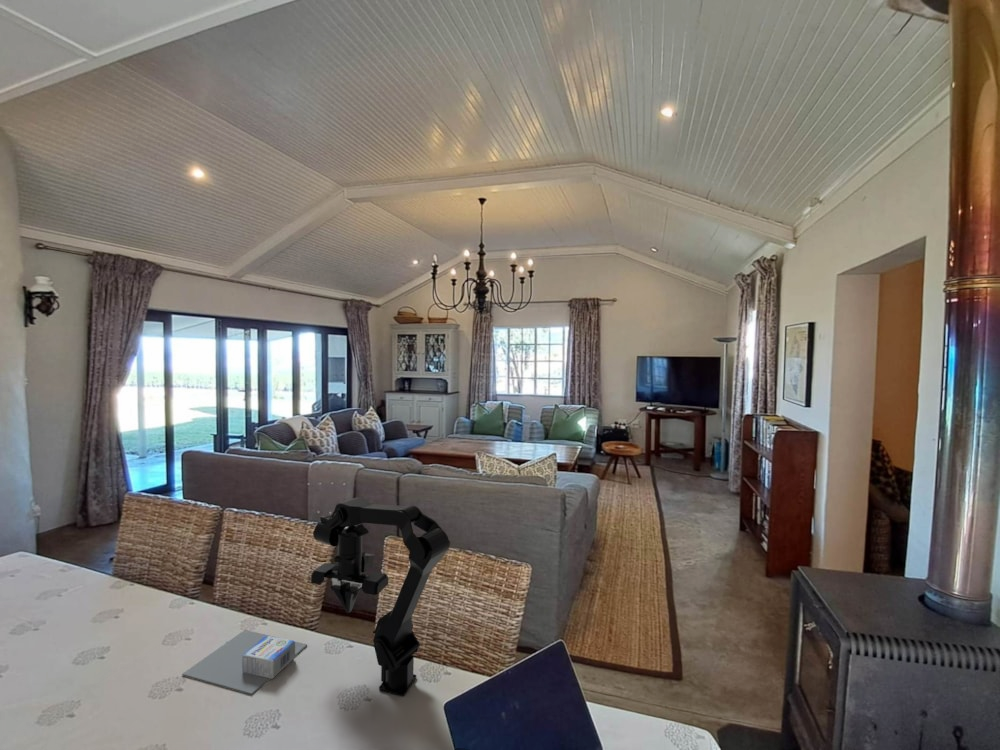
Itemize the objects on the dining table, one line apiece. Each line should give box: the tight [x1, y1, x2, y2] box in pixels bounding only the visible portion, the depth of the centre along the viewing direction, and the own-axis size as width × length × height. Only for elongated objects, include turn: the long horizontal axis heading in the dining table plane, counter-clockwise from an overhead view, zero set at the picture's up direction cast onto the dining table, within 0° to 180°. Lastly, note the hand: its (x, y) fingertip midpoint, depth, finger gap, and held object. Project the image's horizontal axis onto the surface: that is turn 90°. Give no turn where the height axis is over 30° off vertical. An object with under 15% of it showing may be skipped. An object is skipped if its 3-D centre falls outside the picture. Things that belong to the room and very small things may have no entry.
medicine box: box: [242, 635, 296, 679], centre depth 109 cm, size 8×4×9 cm
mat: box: [181, 629, 308, 696], centre depth 111 cm, size 20×18×1 cm
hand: (349, 611), depth 112 cm, fingers closed
